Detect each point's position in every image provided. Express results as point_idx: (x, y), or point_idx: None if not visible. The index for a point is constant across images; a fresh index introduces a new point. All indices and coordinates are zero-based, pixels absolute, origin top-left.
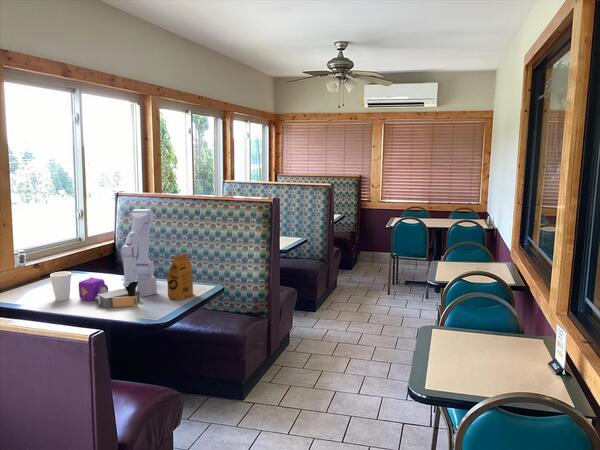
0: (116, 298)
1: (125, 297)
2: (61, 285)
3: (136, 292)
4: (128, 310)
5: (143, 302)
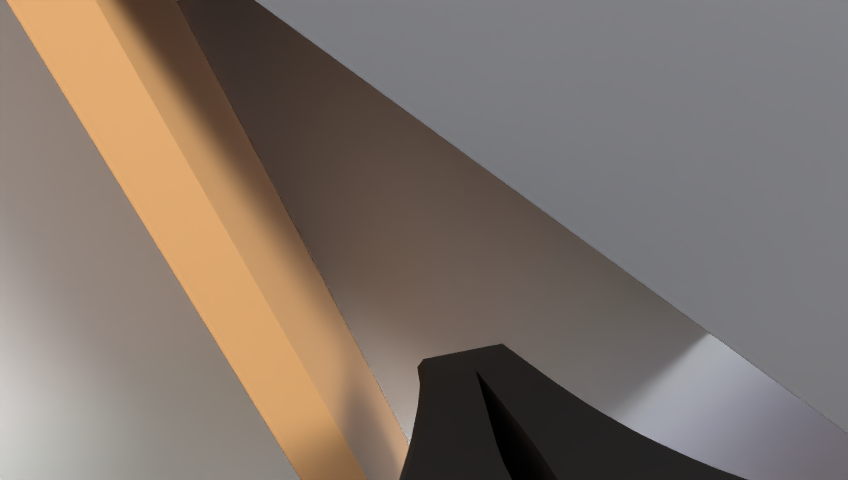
0: (61, 68)
1: (232, 365)
2: None
3: (812, 407)
4: (25, 426)
5: None
